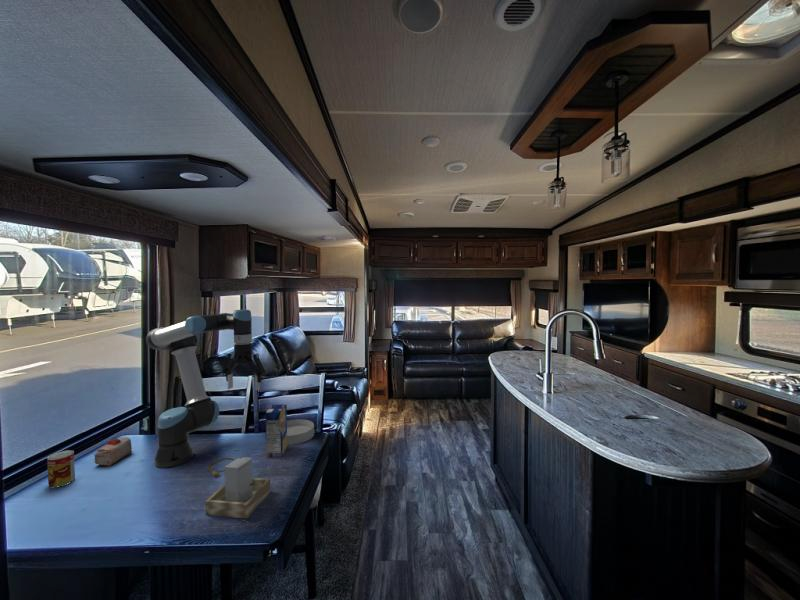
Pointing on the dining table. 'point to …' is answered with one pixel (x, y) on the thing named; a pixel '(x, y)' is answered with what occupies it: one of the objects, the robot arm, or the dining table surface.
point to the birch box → (238, 509)
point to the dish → (299, 431)
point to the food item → (113, 451)
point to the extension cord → (218, 471)
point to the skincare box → (239, 480)
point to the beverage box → (276, 430)
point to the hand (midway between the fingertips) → (244, 388)
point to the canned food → (61, 468)
